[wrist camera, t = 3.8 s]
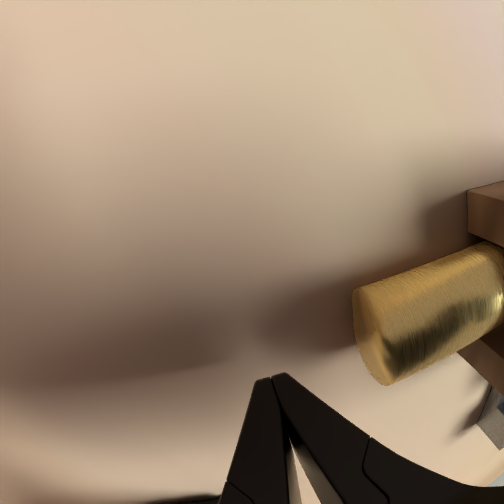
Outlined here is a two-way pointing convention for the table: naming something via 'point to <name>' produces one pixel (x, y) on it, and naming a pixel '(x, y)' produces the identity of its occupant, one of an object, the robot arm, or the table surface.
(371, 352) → the brass rod
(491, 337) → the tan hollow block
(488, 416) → the block
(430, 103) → the table surface
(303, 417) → the robot arm
